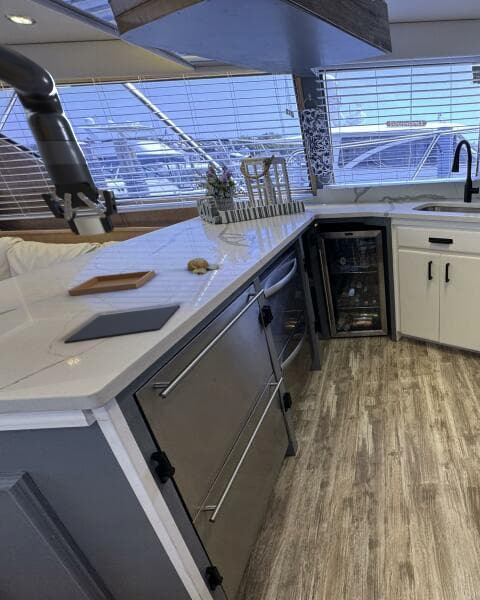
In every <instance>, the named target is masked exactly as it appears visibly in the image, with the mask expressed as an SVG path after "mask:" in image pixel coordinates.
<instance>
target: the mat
mask: <svg viewBox="0 0 480 600" xmlns="http://www.w3.org/2000/svg"><path fill="white" fill-rule="evenodd" d="M180 307H181V305H179V304H178V305H169V306H163V307H154V308H147V309H138V310H132V311H124V312H116V313H108V314H107V313H106V314H100V315H98V316H97V317H95V318H94V319H93V320H91V321H90V322H88V323H87V324H86V325H84V326H83V327H82V328H80V329H79V330H77V331H76V332H74V334H72V335H70V336H69V337H68V338H67V339H65V340H64V341H63V342H64V344H69V343H76V342H82V341H83V342H84V341H89V340H97V339H105V338H110V337H111V338H113V337H118V336H125V335H133V334H139V333H147V332H153V331H159V330H161V329H162V328H163V327H164V325H165V324H166V323H167V322H168V321H169V320H170V319H171V318H172V316H173V315H174V314H175V313H177V311H178V310H179V309H180Z"/></svg>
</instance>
